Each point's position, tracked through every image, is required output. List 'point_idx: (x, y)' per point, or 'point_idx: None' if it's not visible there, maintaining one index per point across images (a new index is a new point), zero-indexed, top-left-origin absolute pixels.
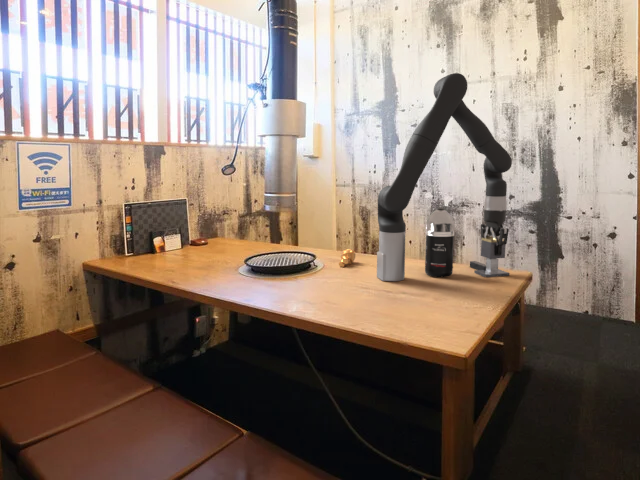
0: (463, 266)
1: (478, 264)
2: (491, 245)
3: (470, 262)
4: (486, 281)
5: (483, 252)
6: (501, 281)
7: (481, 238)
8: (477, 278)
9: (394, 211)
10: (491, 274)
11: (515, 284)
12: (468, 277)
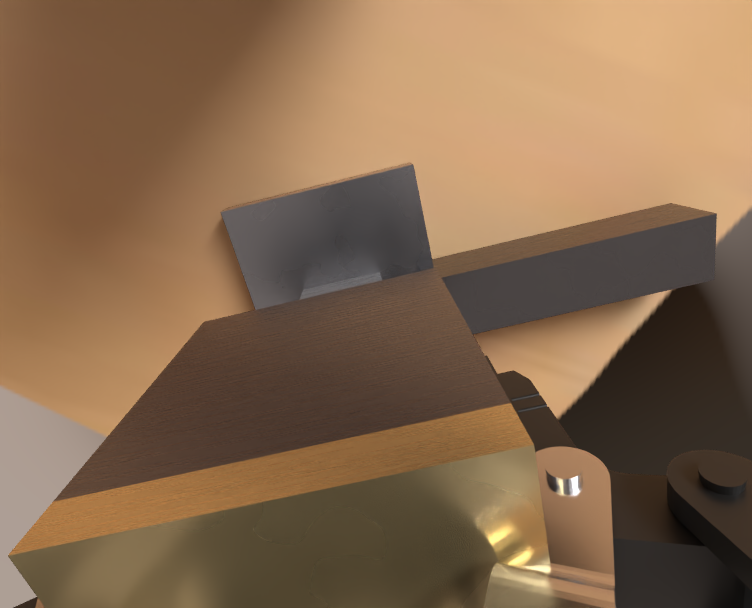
0: (723, 147)
1: (537, 254)
2: (109, 460)
3: (696, 213)
4: (57, 164)
5: (370, 304)
6: (87, 299)
7: (728, 468)
8: (172, 114)
9: None
10: (245, 278)
11: (4, 369)
12: (207, 24)
